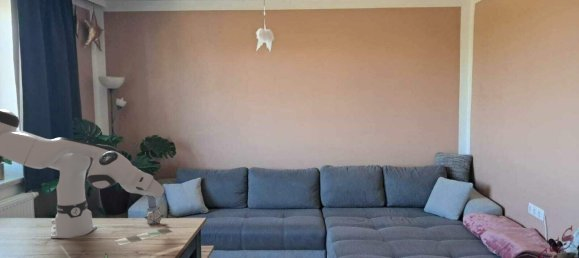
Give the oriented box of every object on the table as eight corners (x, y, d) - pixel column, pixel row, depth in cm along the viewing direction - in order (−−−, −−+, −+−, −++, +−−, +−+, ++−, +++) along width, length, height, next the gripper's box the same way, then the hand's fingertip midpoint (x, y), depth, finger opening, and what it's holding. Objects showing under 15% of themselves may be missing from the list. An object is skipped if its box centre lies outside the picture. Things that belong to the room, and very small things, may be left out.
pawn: (145, 210, 178) (143, 184, 177) (155, 207, 181) (153, 182, 180) (149, 212, 175) (147, 186, 174) (159, 210, 178) (157, 184, 177)
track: (114, 243, 173) (114, 240, 173) (166, 230, 188) (166, 227, 187) (120, 248, 168) (120, 245, 168) (172, 234, 182) (172, 231, 182)
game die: (156, 233, 194) (156, 221, 187) (140, 226, 195) (139, 214, 188) (167, 219, 200) (167, 206, 194) (152, 212, 202) (151, 200, 195)
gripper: (111, 183, 172) (132, 200, 181) (146, 188, 162) (166, 206, 172) (119, 171, 175) (139, 188, 185) (154, 175, 165) (173, 193, 175)
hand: (152, 197), depth 178 cm, fingers closed on pawn, 3 cm apart
